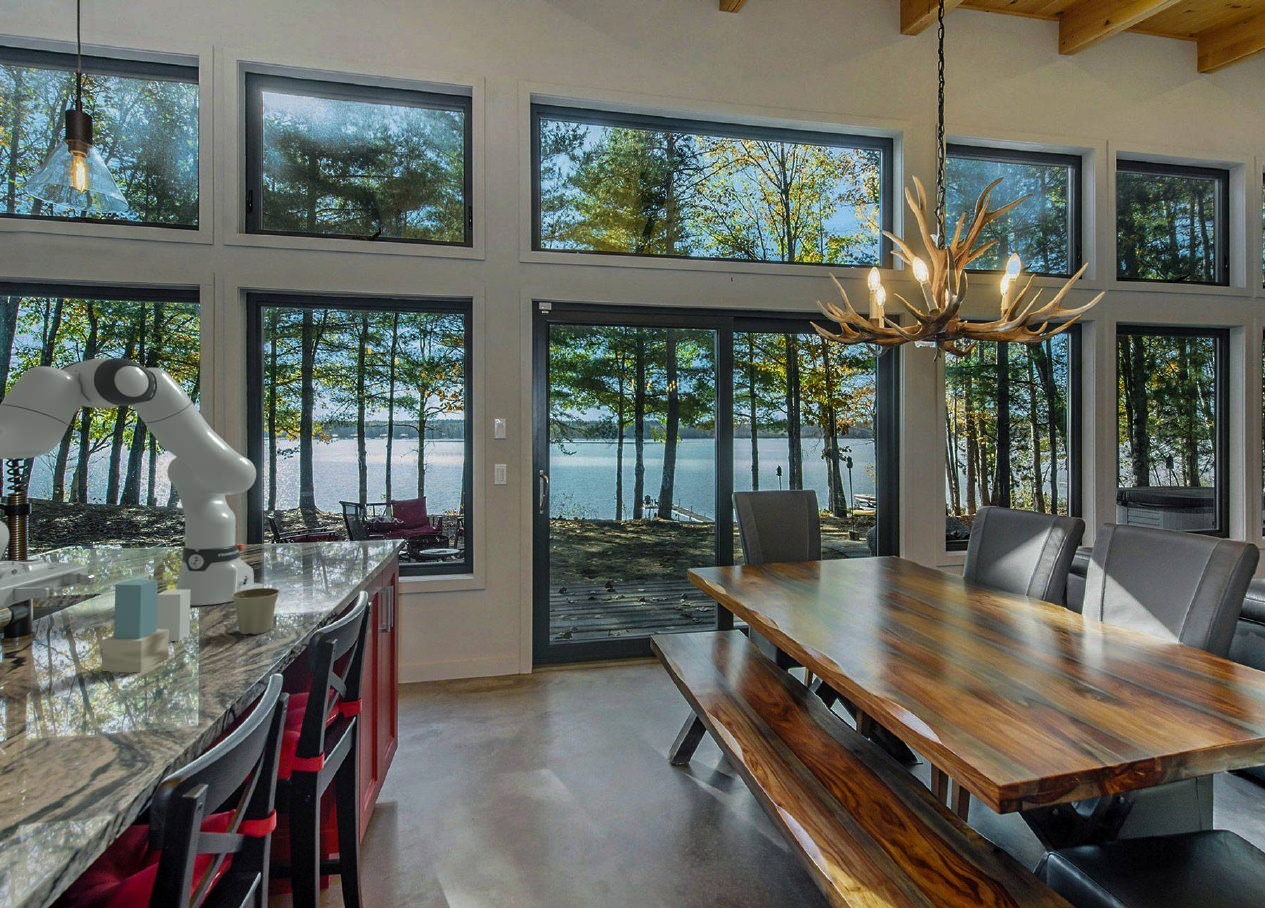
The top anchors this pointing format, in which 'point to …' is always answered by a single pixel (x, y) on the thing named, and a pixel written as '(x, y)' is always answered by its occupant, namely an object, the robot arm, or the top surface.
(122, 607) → the teal block
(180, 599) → the white block
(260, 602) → the flower pot
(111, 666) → the birch block
